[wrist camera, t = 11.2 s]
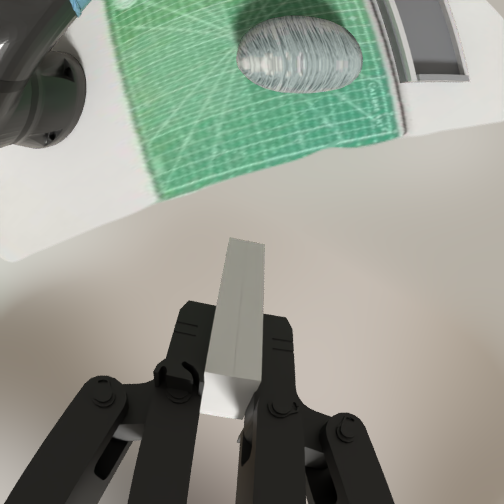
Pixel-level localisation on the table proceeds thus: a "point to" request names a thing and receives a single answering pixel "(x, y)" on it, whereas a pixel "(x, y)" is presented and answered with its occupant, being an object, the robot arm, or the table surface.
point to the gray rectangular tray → (424, 40)
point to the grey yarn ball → (299, 55)
